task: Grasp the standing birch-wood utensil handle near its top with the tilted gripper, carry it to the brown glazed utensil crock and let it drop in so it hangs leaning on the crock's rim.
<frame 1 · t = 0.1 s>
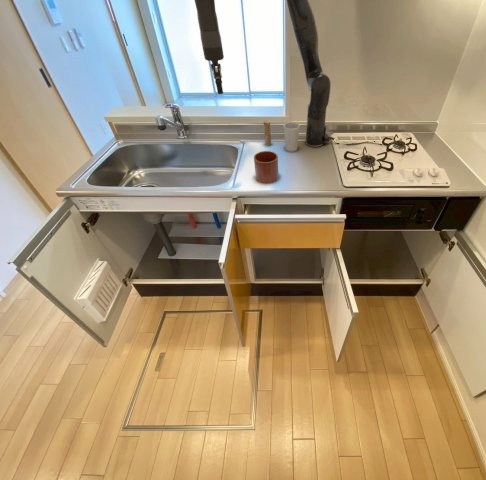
hand: (219, 90, 114), 29 cm above the counter, tool pointing down, fingers open, 8 cm apart
crock: (267, 177, 120), on the counter
utensil: (268, 144, 142), on the counter
cup: (291, 148, 139), on the counter
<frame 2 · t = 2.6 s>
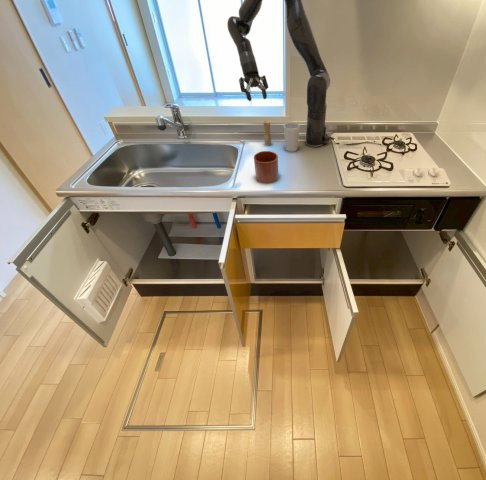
hand: (257, 99, 134), 20 cm above the counter, tool tilted 35°, fingers open, 8 cm apart
nothing on the counter moved.
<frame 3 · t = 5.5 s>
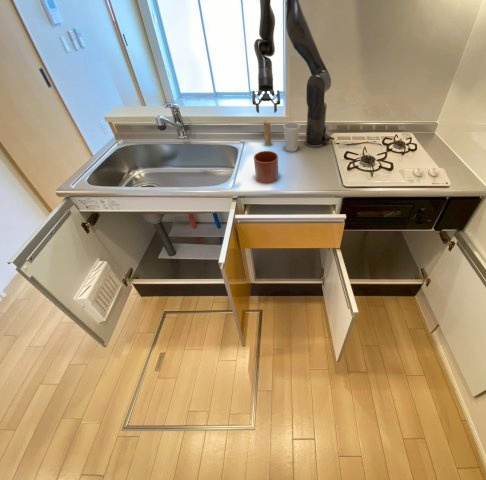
hand: (266, 112, 136), 14 cm above the counter, tool tilted 45°, fingers open, 8 cm apart
nothing on the counter moved.
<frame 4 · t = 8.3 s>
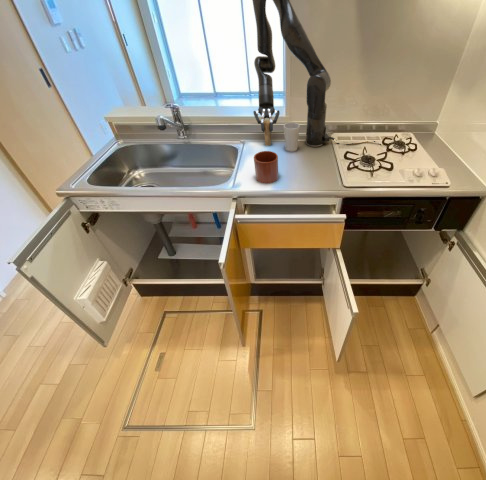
hand: (267, 131, 135), 8 cm above the counter, tool tilted 45°, fingers closed on utensil, 3 cm apart
utensil: (268, 144, 142), on the counter, touching gripper
everything else where it was.
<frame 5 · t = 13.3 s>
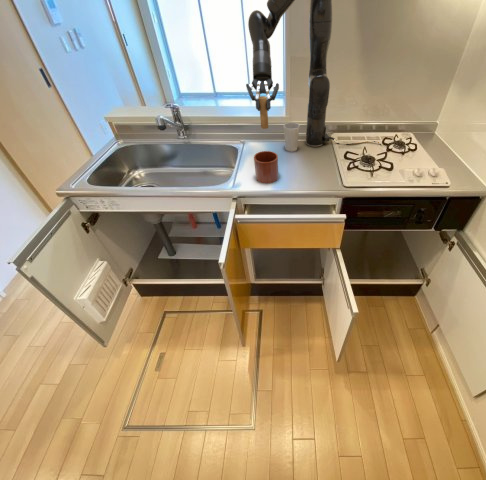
hand: (263, 109, 108), 26 cm above the counter, tool tilted 45°, fingers closed on utensil, 3 cm apart
utensil: (264, 127, 115), point 18 cm above the counter, touching gripper
everything else where it was.
when the fingers open (11 cm above the counter, at t = 18.5 s): utensil drops 2 cm, resting on crock.
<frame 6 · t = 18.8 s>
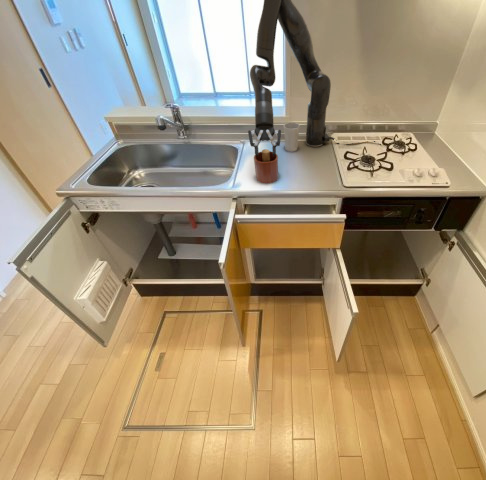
hand: (265, 155, 111), 11 cm above the counter, tool tilted 45°, fingers open, 6 cm apart
utensil: (267, 175, 120), point 1 cm above the counter, touching crock
everything else where it was.
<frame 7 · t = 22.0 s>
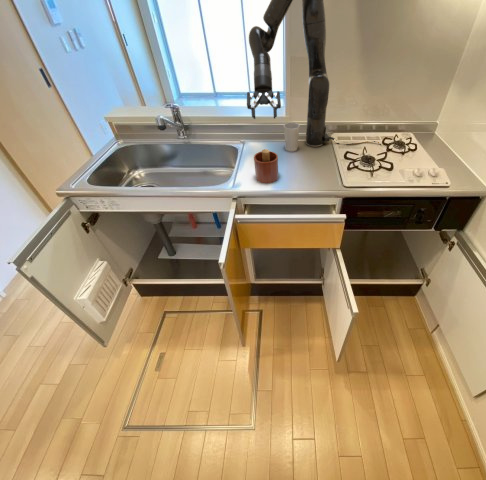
hand: (264, 118, 112), 22 cm above the counter, tool tilted 45°, fingers open, 8 cm apart
nothing on the counter moved.
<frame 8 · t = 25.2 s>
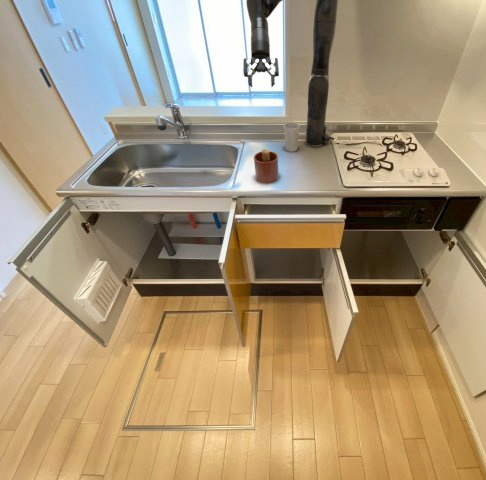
hand: (261, 85, 108), 33 cm above the counter, tool tilted 45°, fingers open, 8 cm apart
nothing on the counter moved.
at the end: utensil inside the target area in the crock (0.0 cm from its centre), point 0.6 cm above the crock's base; the gripper is holding nothing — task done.
